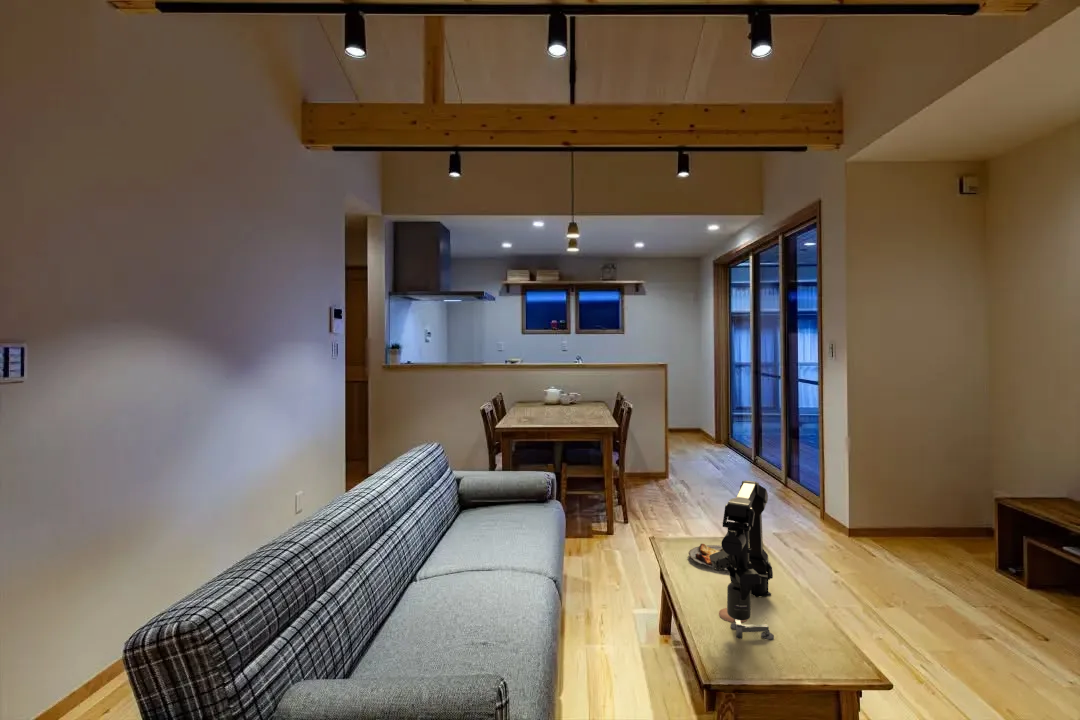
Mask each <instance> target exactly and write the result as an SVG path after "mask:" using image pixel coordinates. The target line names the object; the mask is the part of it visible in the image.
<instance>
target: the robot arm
mask: <svg viewBox="0 0 1080 720" xmlns="http://www.w3.org/2000/svg"><path fill="white" fill-rule="evenodd" d="M768 494H769V493H768V490H767V488H766V487H764V486H761V485H760V483H759V482H758V481H754V480H746V479H745V480H742V482H741V485H740V486H739V490H738V493H737V496H736V497H734V498H730V499H729V500H728V501H727V503H726V504H725V507H724V511H723V520H722V528H727V532H726V534H725V535H724V537H723V538H722V541H721V543H720V545H721V546H722V548H723V551H719V552H717V553H714V554H711V555H710V556H709V557H710V560H711V563H712V565H713V567H714V568H715V571H716V572H717V571H718V572H719V571H722V570H725V568H726V569H727V570H726V571H727V572H728V575H729V579H730V580H731V575H732V574H736V578H734V579H735V580H736V581H737V582H738V583H739V587H740V594H741V599H742V600H746V598H747V596H748V594H749V593H750V591H751V596H753V597H755V598H758V597H759V598H760V597H761V598H762V597H766V596H771V595H772V593H771V592H770V591H769V581H770V580H771V579H773V578H774V571H773V567H772V564H771V562H770V560H769V555H768V553H767V552H766V551H765V549H764V543H763V542H764V540H763V538H764V537H763V519H762V518H763V517H762V516H763V515H762V513H763V512H764V510H765V508H766V506H767V504H768V500H769V495H768Z"/></svg>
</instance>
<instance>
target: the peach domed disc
mask: <svg viewBox="0 0 1080 720" xmlns="http://www.w3.org/2000/svg"><path fill="white" fill-rule="evenodd" d="M718 616H719V617H720V618H721V619H722V620H724V621H726V622H729V623H735V622H734V619H733V618H731V617H730V616H729V615H728V613H727V607H725V608H724V607H723V608H721V609H720V610H719V611H718ZM748 620H749V619H747V620H740V621H741V624H742V623H745V622H747V621H748Z"/></svg>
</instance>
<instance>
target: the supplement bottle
mask: <svg viewBox="0 0 1080 720" xmlns="http://www.w3.org/2000/svg"><path fill="white" fill-rule="evenodd" d="M734 578H736V574H732V575H731V579H730V583H728V585H727V592H726V594H727V596H726V598H727V601H726V608H727V613H728V615H729V616H730V617H731V618H733V619H736V620H747V619H748V620H749V619H750V618H751V615H752V594H751V591H750V593H749V594H748V596H747V598H746V600H742V599H741V594H740V587H739V583H738V582H737V581H736V580H735V579H734ZM748 620H747V621H748Z"/></svg>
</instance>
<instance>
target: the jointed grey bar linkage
mask: <svg viewBox="0 0 1080 720" xmlns="http://www.w3.org/2000/svg"><path fill="white" fill-rule="evenodd" d="M734 622H735V623H734ZM734 622H730V628H731V629H732V630H734V631H736V633H735V637H736V639H738V640H743V637H744V635H743V633H760V637H761V638H762V639H764V640H766V641H773V640H774V639H775V636H774V634H773V633H771V631H770V630H769V629H770V628H769V625H768V624H767V623H766V624H765V623H764V624H763V623H761V624H759V623H756V624H753V623H752V624H742V623H741V621H740V620H736V619H734Z"/></svg>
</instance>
